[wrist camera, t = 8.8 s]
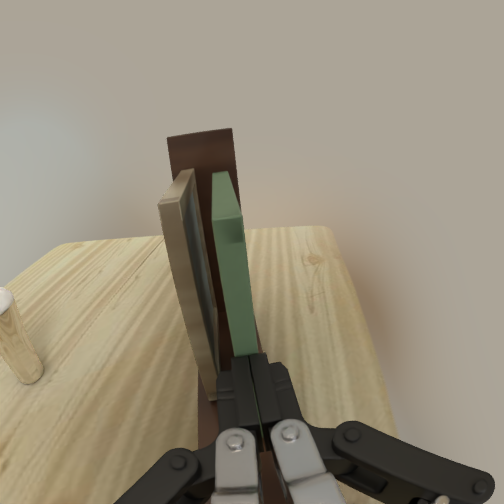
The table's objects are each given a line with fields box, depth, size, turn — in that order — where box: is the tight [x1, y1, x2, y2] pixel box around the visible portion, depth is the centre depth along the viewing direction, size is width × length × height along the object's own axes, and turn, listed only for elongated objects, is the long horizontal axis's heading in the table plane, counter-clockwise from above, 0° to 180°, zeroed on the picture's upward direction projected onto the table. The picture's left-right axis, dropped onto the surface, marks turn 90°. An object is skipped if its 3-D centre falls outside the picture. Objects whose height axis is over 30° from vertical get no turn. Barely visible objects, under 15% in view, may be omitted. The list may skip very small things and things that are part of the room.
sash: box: [212, 171, 263, 437], centre depth 17 cm, size 10×1×13 cm, turn 7°
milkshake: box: [0, 287, 44, 384], centre depth 19 cm, size 5×5×10 cm
